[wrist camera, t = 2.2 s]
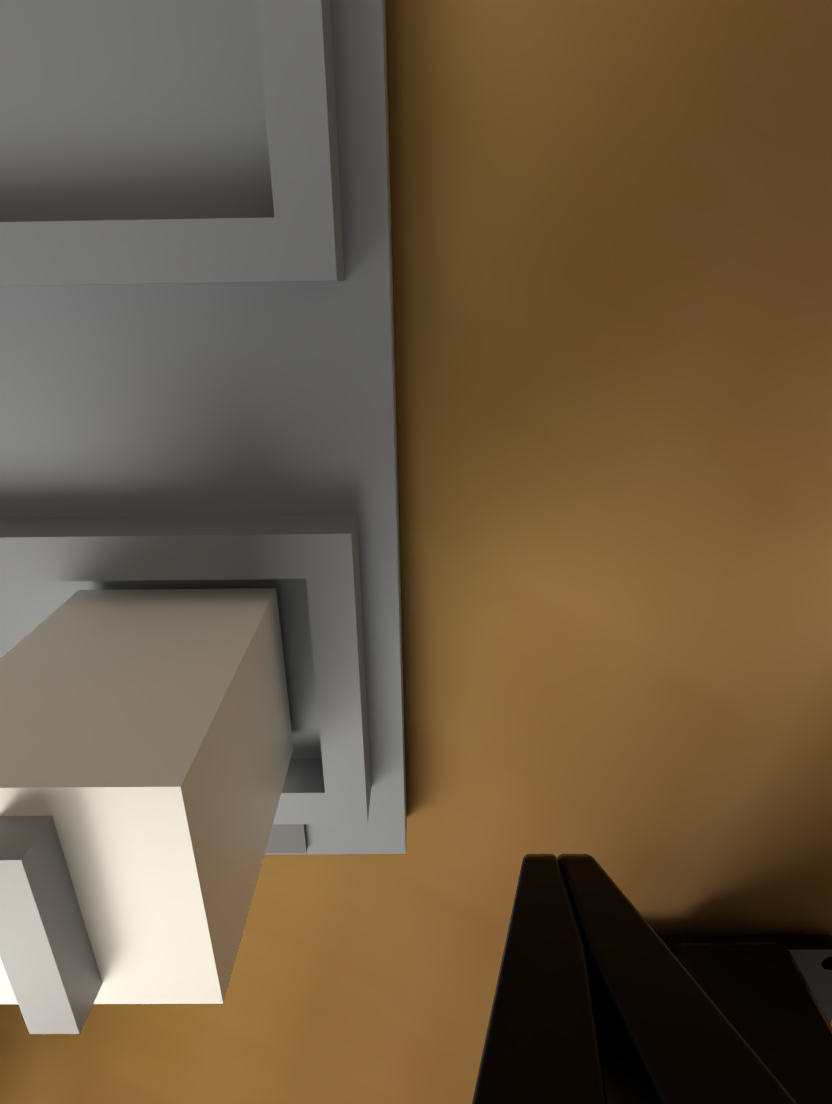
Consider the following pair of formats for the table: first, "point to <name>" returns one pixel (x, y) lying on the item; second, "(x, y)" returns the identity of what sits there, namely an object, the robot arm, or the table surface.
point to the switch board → (212, 351)
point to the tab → (136, 796)
